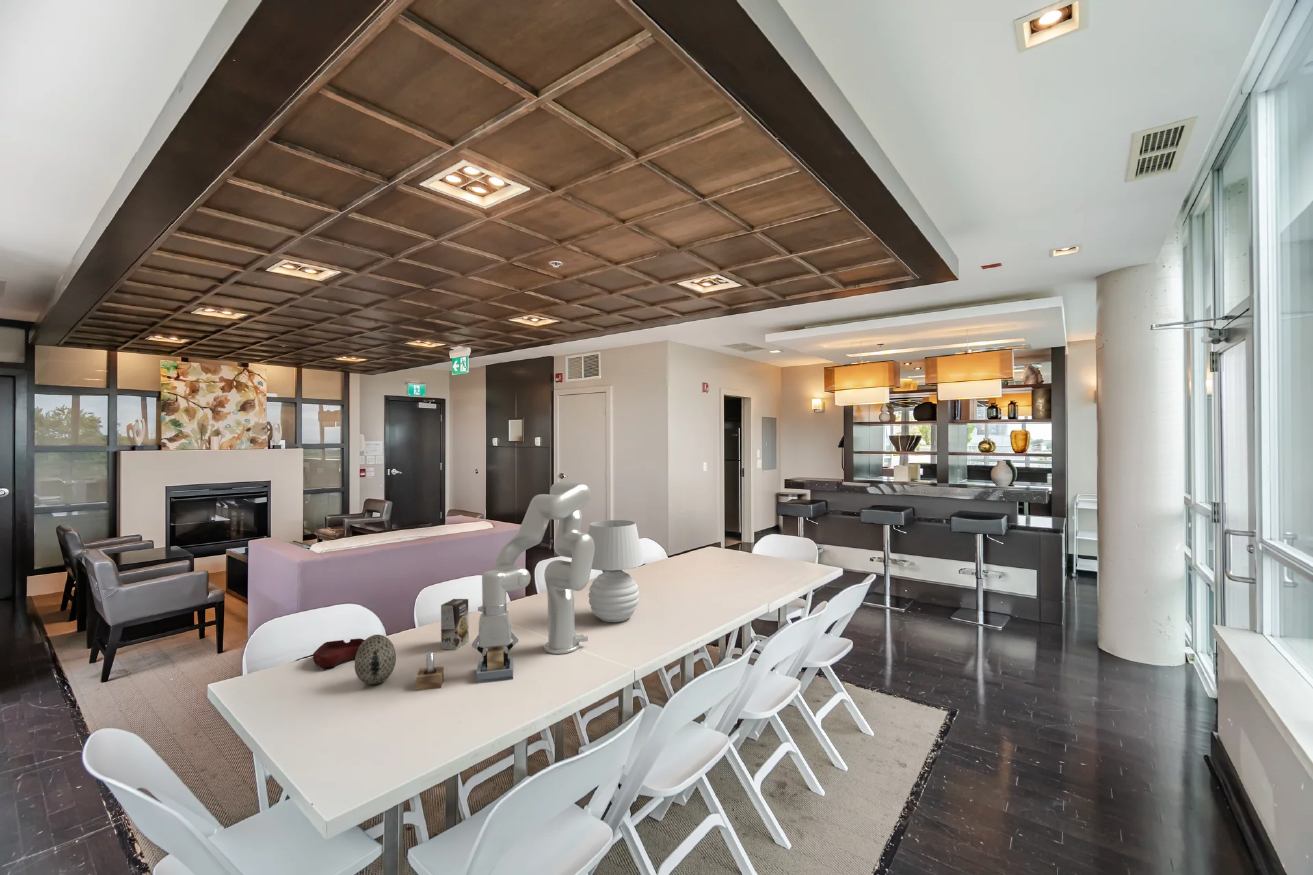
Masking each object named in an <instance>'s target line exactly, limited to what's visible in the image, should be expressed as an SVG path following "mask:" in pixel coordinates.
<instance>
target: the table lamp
mask: <svg viewBox="0 0 1313 875" xmlns="http://www.w3.org/2000/svg"><path fill="white" fill-rule="evenodd" d="M587 534H589V535H590V536H591V537H592V538H593V541H594V545H595V551H594V557H593V562H592V568H591V570H593V571H594V570H596V571H604V572H602V573H600V574H598V576H597V577H595V578H594V579H593V581H592V582H591V585H590V586H589V589H588V590H589V592H588V598H589V599H588V604H589V605H590V610H591V611H592V612H593V613H594V615H595V616H596V617H597V618H599V619H600V620H601V621H602V622H607V623H620V622H621V623H622V622H625V621H626V620H628V619H629V618H630V617H631V616H632V615H633V614H634V613H635V611H636V610H637V608H638V604H639V602H640V597H639V596H640V591H639V585H638V584H637V582H636V580H635V578H634V577H632V576H631V574H629V573H627V572H626V571H624V570H631V569H635V568H639V567H641V566H643V565H644V562H645V560H644V556H643V552H642V546H641V541H640V537H639V531H638V528H637V522H636V521H633V520H626V519H623V520H622V519H610V520H609V519H608V520H606V519H605V520H598V521H593V522H590V524H589V528H588V533H587Z"/></svg>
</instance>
